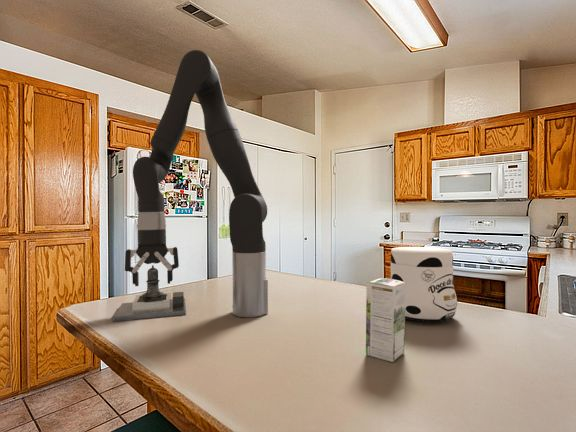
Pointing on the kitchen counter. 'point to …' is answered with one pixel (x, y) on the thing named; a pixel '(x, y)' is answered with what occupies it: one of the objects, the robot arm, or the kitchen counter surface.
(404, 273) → the milk container
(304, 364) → the kitchen counter surface
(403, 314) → the syrup box
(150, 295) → the grey chess piece
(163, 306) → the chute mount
